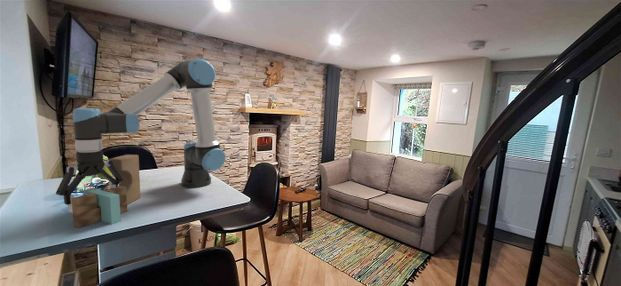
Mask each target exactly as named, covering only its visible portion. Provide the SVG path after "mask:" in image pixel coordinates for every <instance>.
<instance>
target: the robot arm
mask: <svg viewBox="0 0 621 286" xmlns="http://www.w3.org/2000/svg"><path fill="white" fill-rule="evenodd" d="M215 79H216V70H215V68H214V66H213V65H212V63H210V62H209V61H208V60H206V59H202V58H193V59H190V60H183V61H181V62H179V63H178V64H176V65H174V66H173V67H172V68H171V69H170V68H169V70H168V71H166V72H164V73H163V76H162V77H161V78H160V79H157V80H155V81H154V82H153V83H150V85H148V86H147V87H145V88H143V89H142V90H140V91H138V92H137V93H135V94H134V95H132V96H131V97H129V98H127V99H126V100H124V101H123V102H120V103H119V104H118V105H116V106H115V107H113V108H112V109H109V110H108V111H105V112H102V113H101V110H100V109H99V108H95V107H94V108H92V107H90V108H89V107H87V108H86V107H79V108H78V107H77V108H74V109H73V110H72V122H73V123H72V124H73V131H74V132H73V133H74V144H75V151H76V152H75V157H76V159H75V160H76V163H77V164H76V166H69V165H68V166H66V167H65V173H64V175H63V178H61V179H62V180H61V182H60V183H59V185H58V187H57V189H56V191H55V194H56V195H57V196H63V203H64V205H67V209H68V210H67V212H68V213H71V214H73V211H72V199H71V198H75V195H74V194H73V193H74V191H75V190H76V188H78V187H79V185H80V183H81V182H82V181H83V180H84V179H85V178H87V177H92V176H98V175H100V176H102V177H103V178H104V179H106V180H107V181H108V182H109V189H111V188H115V187H118V186H119V183H120V181H123V179H122V177H121V176H120V174H119V173H118V171H117V170H116V169H115V167H114V165H113V161H110V160H109V159H106V160H105V161H104V151H103V149H104V148H103V137H102V136H103V135H104V134H105V135H107V134H131V133H137V132H138V131H140V120H139V117H138V116H139V115H140V114H141V113H143V112H145V111H146V110H147V109H149V108H151V107H152V106H154V105H155V104H156V103H158V102H159V101H161V100H162V99H164V98H166V97H167V96H169V95H170V94H171V93H173V92H174V91H180V90H181V89H183V88H185V87H186V91H187V92H189V93H190V97H191V104H192V111H193V118H194V125H195V131H196V137H197V141H195V142H186V143H184V145H183V159H184V161H183V163H184V169H183V170H184V172H183V174H182V178H181V180H180V182H181V183H180V185H181V186H182V187H185V188H201V187H206V186H208V185H210V184H212V177H211V175H210V171H212V172H214V171H218V170H219V169H221V168H222V167H223V166H224V164H225V162H226V157H227V156H226V153H225V151H224V150H222V149H221V145H220V141H219V140H217V136H216V129H215V121H214V115H213V113H214V112H213V106H212V98H211V91H212V90H213V89H214V88H213V82H214V81H215ZM104 167H106V168H107V169H108V171H109V172H110V174H109V173H108V172H107V171H106V170H104V169H103V168H104ZM76 171H78V172H77V173H76ZM75 173H76V175H75V177H74V174H75ZM73 177H74V178H73ZM71 180H72V181H71Z"/></svg>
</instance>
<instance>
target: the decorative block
mask: <svg viewBox="0 0 621 286" xmlns="http://www.w3.org/2000/svg"><path fill="white" fill-rule="evenodd" d="M108 160H110V161H113V165H114V167H115V169H116V170H117V171H118V173H119V174H120V176H121V177H122V179H123V181H120V183H119V184H118V187H119V186H123V187H126V196H127V206H128V205H129V204H131V203H133V202H135V201H137V200H139V199H141V182H140V181H141V180H140V179H141V177H140V159H139V154H124V155H120V156H116V157H115V156H114V157H113V158H109V159H108Z"/></svg>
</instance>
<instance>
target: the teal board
mask: <svg viewBox="0 0 621 286" xmlns="http://www.w3.org/2000/svg"><path fill="white" fill-rule="evenodd" d="M91 193H92V194H95V195H96V197H97V206H100V207H101V222H105V223H106V224H110V225H113V224H116V223H119V222H121V214H120V201H119V195H118V194H114V193H110V192H107V191H105V190H102V189H98V188H95V187H90V188H86V189H82V196H83V195H87V194H91Z"/></svg>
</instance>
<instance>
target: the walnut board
mask: <svg viewBox="0 0 621 286" xmlns="http://www.w3.org/2000/svg"><path fill="white" fill-rule="evenodd" d="M118 186H119V185H118ZM104 191H107V192H110V193H114V194H118V195H119V201H120V215H121V214H124V213H127V212H128V205H127V196H126V187H123V186H119V187H115V188H111V189H110V188H108V189H105V190H104ZM71 199H72V211H73V213H72V220H73V221H72V222H73V227H75V228H78V229H79V228H82V227H85V226H88V225H89V226H90V225H91V224H95V223H99V222H100V221H101V222H102V220H101V207H100V206H97V197H96V195H95V194H92V193H91V194H87V195H83V194H82V195H78V196H74V198H71Z"/></svg>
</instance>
